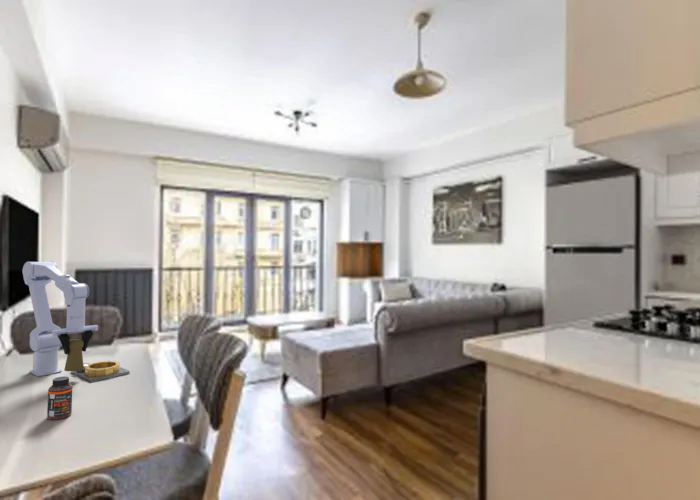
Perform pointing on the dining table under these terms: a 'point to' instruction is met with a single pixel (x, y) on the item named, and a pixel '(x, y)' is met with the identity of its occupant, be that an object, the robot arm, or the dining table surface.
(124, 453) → the dining table surface
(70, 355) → the cork
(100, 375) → the flanged metal plate
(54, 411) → the supplement bottle
